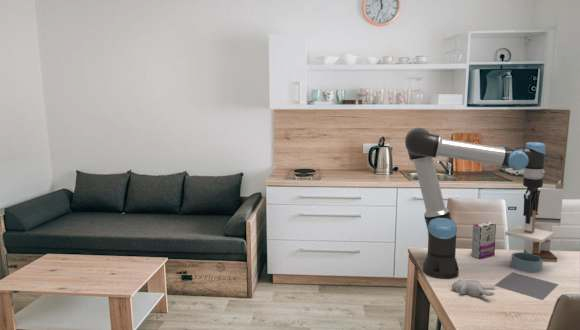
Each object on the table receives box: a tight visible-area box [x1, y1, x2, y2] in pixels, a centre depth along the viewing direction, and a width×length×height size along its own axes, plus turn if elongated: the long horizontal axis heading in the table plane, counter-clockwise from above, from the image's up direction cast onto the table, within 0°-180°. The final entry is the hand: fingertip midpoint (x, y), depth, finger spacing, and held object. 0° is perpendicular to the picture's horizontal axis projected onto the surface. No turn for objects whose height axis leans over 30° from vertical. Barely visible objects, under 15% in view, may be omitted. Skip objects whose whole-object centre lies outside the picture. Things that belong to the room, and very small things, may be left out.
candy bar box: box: [471, 221, 497, 260], centre depth 210 cm, size 11×5×16 cm, turn 117°
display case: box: [523, 184, 564, 263], centre depth 206 cm, size 11×11×35 cm
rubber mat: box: [493, 271, 560, 301], centre depth 176 cm, size 20×18×1 cm
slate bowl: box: [510, 251, 544, 273], centre depth 195 cm, size 12×12×6 cm
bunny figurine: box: [451, 279, 496, 298], centre depth 170 cm, size 10×5×15 cm
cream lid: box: [504, 210, 555, 243], centre depth 191 cm, size 15×15×11 cm
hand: (529, 229), depth 192 cm, fingers closed on cream lid, 3 cm apart
